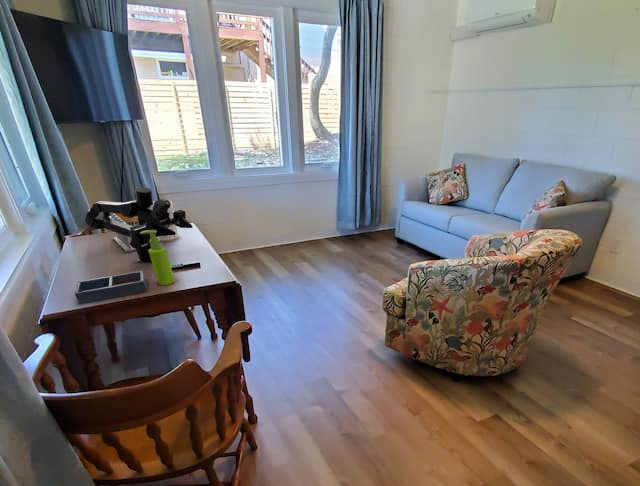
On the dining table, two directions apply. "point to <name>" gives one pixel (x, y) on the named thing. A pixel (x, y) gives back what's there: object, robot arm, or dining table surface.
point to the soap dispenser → (159, 260)
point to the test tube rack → (122, 236)
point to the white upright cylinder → (172, 227)
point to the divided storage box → (110, 287)
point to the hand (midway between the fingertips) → (183, 230)
